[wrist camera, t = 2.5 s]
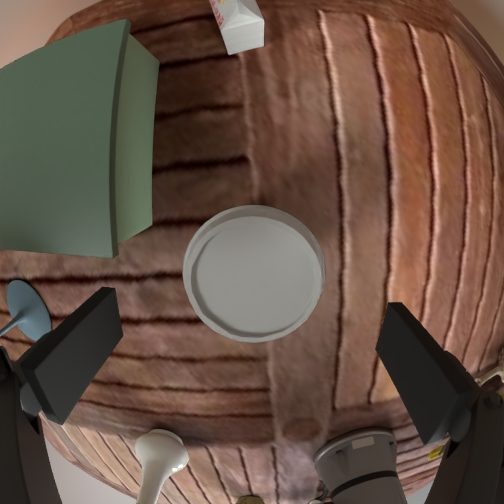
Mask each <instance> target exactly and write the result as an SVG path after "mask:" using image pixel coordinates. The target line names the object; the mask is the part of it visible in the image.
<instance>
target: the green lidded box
mask: <svg viewBox="0 0 504 504" xmlns="http://www.w3.org/2000/svg"><path fill="white" fill-rule="evenodd" d="M130 26H131V22H130V21H129V20H128V19H127V18H126V19H122V20H118V21H114V22H110V23H107V24H103V25H100V26H97V27H93V28H90V29H87V30H84V31H81V32H79V33H76V34H73V35H70V36H68V37H65V38H63V39H60V40H58V41H55V42H53V43H50V44H48V45H46V46H44V47H41V48H39V49H37V50H35V51H33V52H31V53H29V54H27V55H25V56H23V57H21V58H19V59H17V60H15V61H14V62H12V63H10V64H8V65H6V66H4V67H3V68H1V69H0V249H5V250H16V251H28V252H39V253H51V254H64V255H77V256H90V257H103V258H114V257H116V256H117V255H119V251H118V244H120V243H122V242H123V241H125V240H127V239H128V238H130V237H132V236H134V235H135V234H137V233H139V232H141V231H142V230H144V229H146V228H148V227H149V226H151V225H152V151H153V129H154V114H155V101H156V90H157V80H158V71H159V63H160V62H159V61H158V60H157V59H156V58H155V57H154V56H153V55H152V54H151V53H150V52H149V51H148V50H147V49H146V48H145V47H144V46H143V45H142V44H140V43H139V42H138V41H137V40H136V39H135V38H134V37H133V36H132V35H131V34H130V33H129V31H130Z"/></svg>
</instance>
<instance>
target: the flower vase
mask: <svg viewBox="0 0 504 504" xmlns="http://www.w3.org/2000/svg"><path fill="white" fill-rule="evenodd" d="M135 453H136V456H137V457H138V459H139V461H140V462H141V465H142V472H143V475H142V481H141V486H140V489H139V493H138V497H137V500H136V503H135V504H157V501H158V498H159V495H160V492H161V489H162V487H163V485H164V483H165V481H166V480H167V478H168V477H169V476H170V475H172V474H173V473H176V472H179V471H180V470H182V469H183V468H184V467H185V466H186V465H187V463H188V461H189V454H188V451H187V450H186V448H185V447H184V445H183V442H182V440H181V438H180V437H178V436H177V435H176V434H174V433H172V432H170V431H167V430H163V429H153V430H151V431H150V432H149V433H146V434H143V435H141V436H139V437H138V438H137V440H136V441H135Z"/></svg>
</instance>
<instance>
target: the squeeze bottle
mask: <svg viewBox="0 0 504 504" xmlns="http://www.w3.org/2000/svg"><path fill="white" fill-rule="evenodd" d="M236 504H265V503H264V501H263V499H261V498H259V497H253V496H246V497H241V498H239V499H238V501H237V503H236Z"/></svg>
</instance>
